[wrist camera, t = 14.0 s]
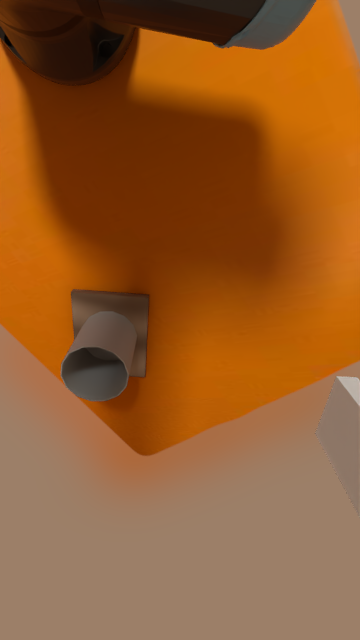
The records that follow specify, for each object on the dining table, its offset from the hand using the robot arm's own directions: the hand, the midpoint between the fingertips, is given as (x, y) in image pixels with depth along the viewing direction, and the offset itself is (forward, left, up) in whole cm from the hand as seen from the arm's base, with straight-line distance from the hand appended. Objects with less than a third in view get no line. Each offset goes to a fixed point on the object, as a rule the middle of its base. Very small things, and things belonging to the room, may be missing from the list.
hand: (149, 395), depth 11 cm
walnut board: (+17, -8, -35) cm, 39 cm away
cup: (+17, -8, -34) cm, 38 cm away
